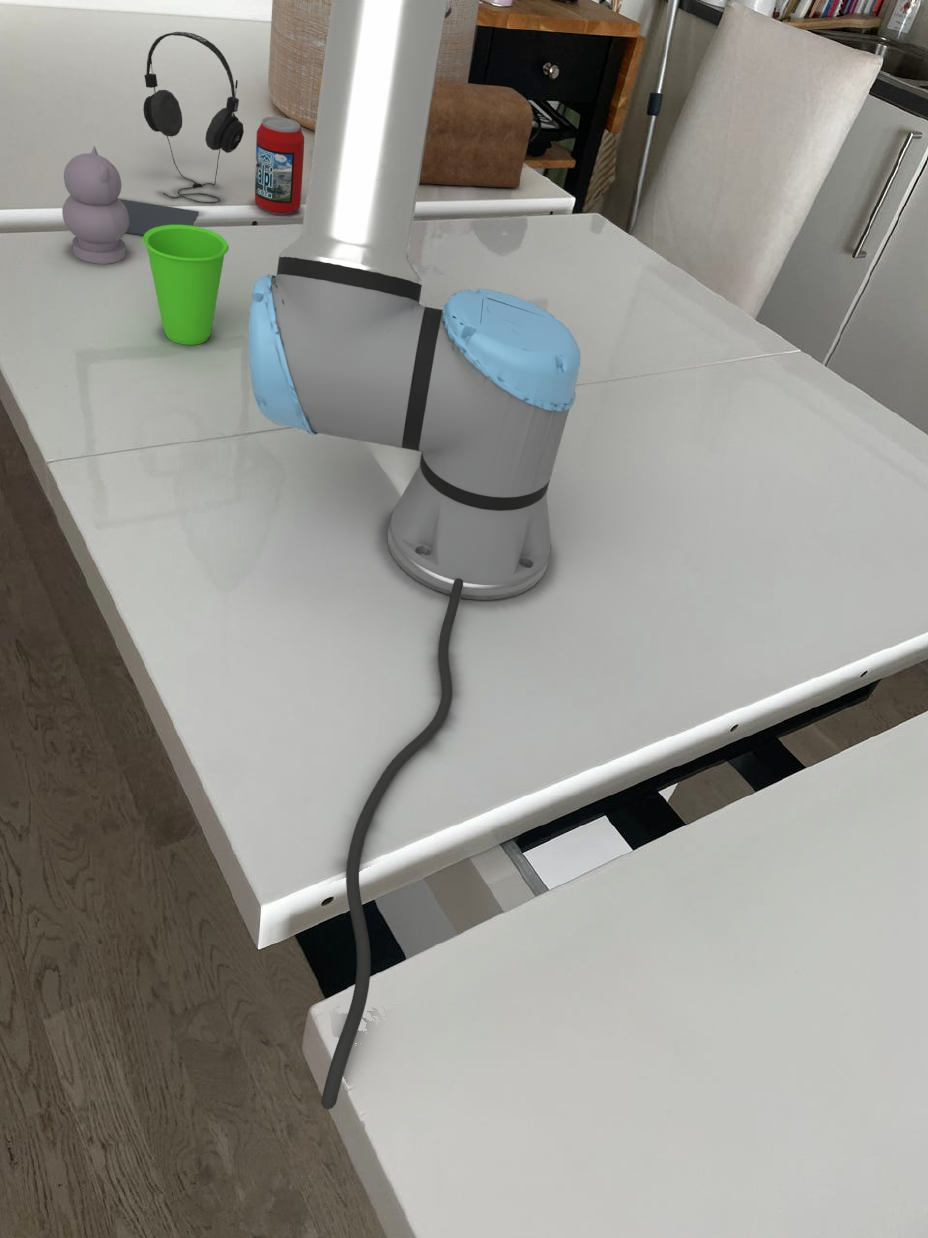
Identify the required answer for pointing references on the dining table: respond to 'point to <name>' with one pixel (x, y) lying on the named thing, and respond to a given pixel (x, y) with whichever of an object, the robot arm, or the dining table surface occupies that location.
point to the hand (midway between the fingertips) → (349, 129)
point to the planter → (303, 47)
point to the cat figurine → (95, 209)
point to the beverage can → (279, 165)
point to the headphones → (168, 117)
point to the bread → (475, 135)
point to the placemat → (155, 216)
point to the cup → (186, 278)
